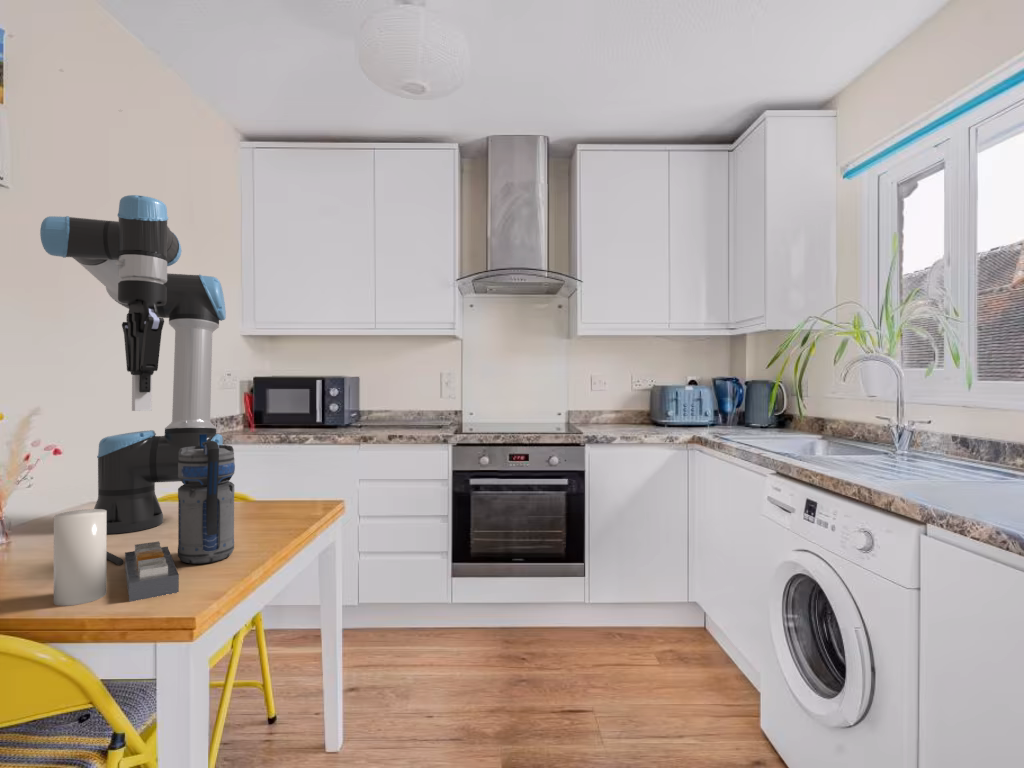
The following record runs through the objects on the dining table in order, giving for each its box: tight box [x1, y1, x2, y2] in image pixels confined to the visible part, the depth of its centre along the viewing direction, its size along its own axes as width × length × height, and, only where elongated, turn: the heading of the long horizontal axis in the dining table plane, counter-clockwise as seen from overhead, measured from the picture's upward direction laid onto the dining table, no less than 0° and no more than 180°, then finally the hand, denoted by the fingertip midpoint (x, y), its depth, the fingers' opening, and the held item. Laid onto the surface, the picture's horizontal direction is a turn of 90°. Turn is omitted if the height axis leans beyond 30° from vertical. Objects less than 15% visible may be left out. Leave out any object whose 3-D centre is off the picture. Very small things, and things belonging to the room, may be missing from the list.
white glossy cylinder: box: [53, 508, 108, 607], centre depth 94 cm, size 7×7×14 cm
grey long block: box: [124, 541, 180, 602], centre depth 103 cm, size 20×7×5 cm, turn 36°
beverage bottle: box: [177, 434, 236, 565], centre depth 115 cm, size 10×13×25 cm
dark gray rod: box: [106, 551, 125, 566], centre depth 114 cm, size 11×1×1 cm, turn 54°
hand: (141, 410), depth 104 cm, fingers closed
